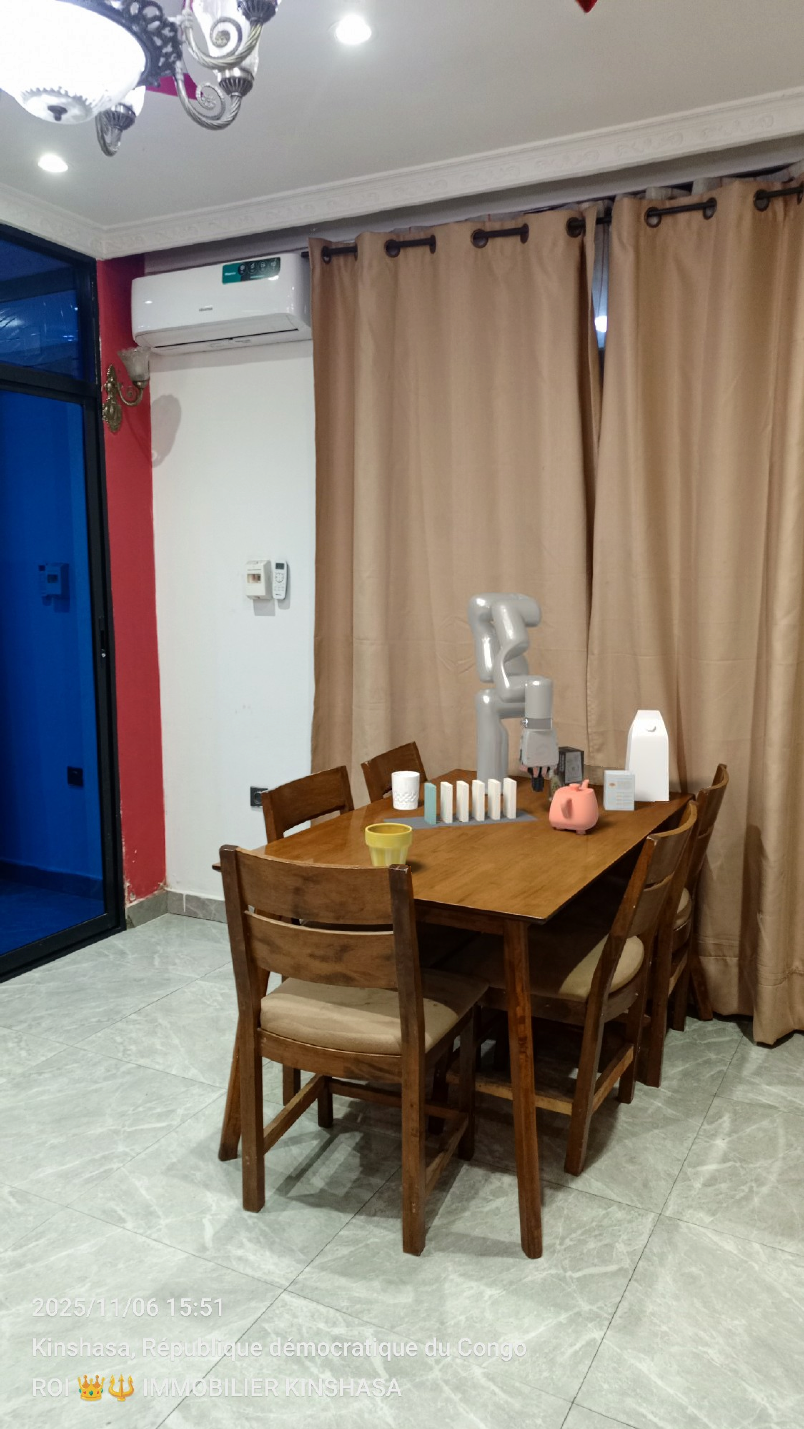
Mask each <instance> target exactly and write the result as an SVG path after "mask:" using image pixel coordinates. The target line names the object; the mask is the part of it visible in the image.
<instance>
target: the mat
mask: <svg viewBox="0 0 804 1429" xmlns="http://www.w3.org/2000/svg"><path fill="white" fill-rule="evenodd" d="M440 816H441V814H440V815H436V821H443V820H440V819H441V817H440ZM382 821H383V822H384V823H397V824H404V825H407V826H410V827H411V828H412V830H424V829H425V830H426V829H436V828H438V829H439V828H441V827H438V826H451V827H452V826H453V827H465V826H477V825H478V826H479V825H491V824H492V825H493V824H503V823H505V824H506V823H516V822H517V823H520V822H530V821H531V822H532V821H533V822H534V821H535V822H536V821H539V819H538V818H536V817H534V816H532V815H531V814H529V813H528V812H526V811H524V810H522V809H516V818H512V819H510V818H508V817H507V816H505V815H503V810H500V819H498V820H494V819H492V818H491V817H489V816H488V811H484V821H478V820H477V819H475V818H474V817H472V812H471V813H469V812H468V822H459V821H460V820H459V819H458V818H456V813H454V814H453V813H452V823H446V822H436V824H429V823H428V822H427V821H425V815H423V816H411V817H397V818H396V817H395V818H384V819H382ZM459 824H460V825H459ZM451 827H450V828H451Z"/></svg>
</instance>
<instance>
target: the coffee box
mask: <svg viewBox="0 0 804 1429" xmlns="http://www.w3.org/2000/svg"><path fill="white" fill-rule="evenodd" d="M558 751H559V762H558V764H557V768H556V769H553V770H550V771H549V772H548V774H549V777H548V778H549V780H548V782H549V783H548V785H549V786H548V787H549V788H548V801H550V802H552V800H553V797H554V794H555V792H556V791H557V790H558V789H560V788H562V787H565V786H570V785H569V784H573V783H575V784H580V787H581V786H582V783H583V781H584V771H585V770H584V769H585V766H584V765H585V750H581V749H578V748H576V747H572V746H558Z"/></svg>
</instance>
